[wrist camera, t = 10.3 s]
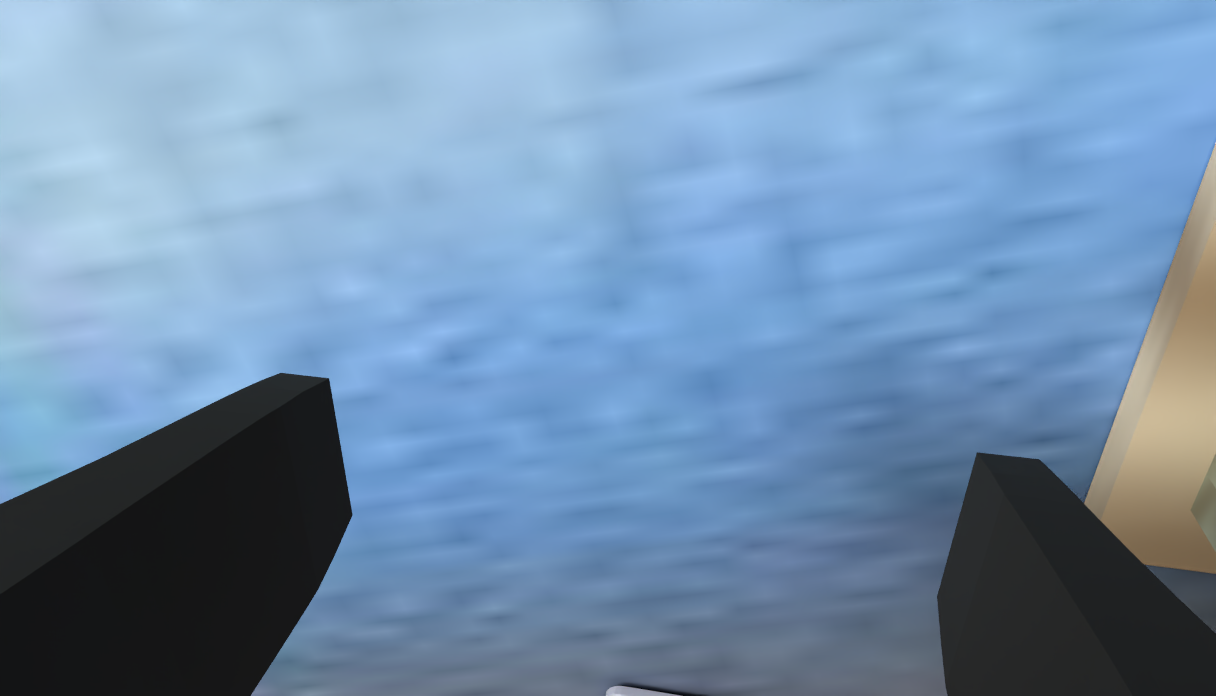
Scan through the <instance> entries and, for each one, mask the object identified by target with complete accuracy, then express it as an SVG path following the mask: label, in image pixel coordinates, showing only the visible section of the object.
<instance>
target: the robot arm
mask: <svg viewBox="0 0 1216 696" xmlns="http://www.w3.org/2000/svg"><path fill="white" fill-rule="evenodd" d="M351 517H352V510H351V504H350V498H349V492H348V486H347V481H346V475H345V469H344V463H343V457H342V451H341V446H340V440H339V434H338V428H337V422H336V416H335V411H334V405H333V399H332V393H331V387H330V381H329V378H321V377H312V376H303V375H294V374H286V373H279V374H277V375H274V376H272V377H269V378H266V379H264V380H261V381H259V382H257V383H254V384H252V385H250V386H248V387H246V388H243V389H241V390H239V391H237V392H235V393H233V394H231V395H229V396H226V397H224V398H222V399H220V400H218V401H216V402H214V403H212V404H210V405H208V406H206V407H204V408H202V409H200V410H198V411H196V412H194V413H192V414H190V415H188V416H186V417H184V418H182V419H180V420H178V421H176V422H174V423H172V424H170V425H168V426H166V427H164V428H161V429H159V430H157V431H155V432H153V433H151V434H149V435H147V436H145V437H143V438H141V439H139V440H137V441H135V442H133V443H131V444H129V445H127V446H125V447H123V448H121V449H119V450H117V451H115V452H113V453H111V454H109V455H107V456H105V457H103V458H100V459H98V460H96V461H94V462H92V463H90V464H87V465H85V466H83V467H81V468H79V469H76V470H74V471H72V472H70V473H68V474H66V475H63V476H61V477H59V478H57V479H55V480H52V481H50V482H48V483H46V484H44V485H41V486H39V487H37V488H35V489H33V490H30V491H28V492H26V493H24V494H22V495H20V496H17V497H15V498H13V499H11V500H9V501H6V502H4V503H2V504H0V696H251V694H252V693H253V691H254V689H255V688H256V686H257V685H258V683H259V682H260V680H261V679H262V677H263V676H264V674H265V672H266V671H267V669H268V668H269V666H270V665H271V663H272V662H273V660H274V659H275V657H276V655H277V654H278V652H279V651H280V649H281V648H282V646H283V645H284V643H285V641H286V640H287V638H288V637H289V635H290V633H291V632H292V630H293V629H294V627H295V626H296V624H297V622H298V621H299V619H300V618H301V616H302V615H303V613H304V611H305V610H306V608H307V607H308V605H309V603H310V602H311V600H312V598H313V597H314V595H315V594H316V592H317V590H318V589H319V586H320V584H321V582H322V580H323V578H324V576H325V574H326V572H327V570H328V568H329V566H330V564H331V562H332V560H333V558H334V556H335V553H336V551H337V549H338V547H339V544H340V542H341V540H342V537H343V535H344V533H345V531H346V528H347V526H348V524H349V522H350V519H351ZM937 599H938V611H939V623H940V635H941V647H942V656H943V665H944V675H945V684H946V690H947V694H948V696H1216V634H1215V633H1214V632H1213V631H1212V630H1211V629H1210V628H1209V627H1208V626H1207V625H1206V624H1205V623H1204V622H1203V621H1202V620H1200V619H1199V618H1198V617H1197V616H1196V615H1195V614H1194V613H1193V612H1192V611H1191V610H1190V609H1189V608H1188V607H1187V606H1186V605H1185V604H1184V603H1183V602H1182V601H1181V600H1179V599H1178V598H1177V597H1176V596H1175V595H1174V594H1173V593H1172V592H1171V591H1170V590H1169V589H1168V588H1167V587H1166V586H1165V585H1164V584H1163V583H1162V582H1161V581H1160V580H1159V579H1158V578H1157V577H1156V576H1155V575H1154V574H1153V573H1152V572H1151V571H1150V570H1149V569H1148V568H1147V567H1146V566H1145V565H1144V564H1143V563H1142V562H1141V561H1140V560H1139V559H1138V558H1137V557H1136V556H1135V555H1134V554H1133V553H1132V552H1131V551H1130V550H1129V549H1128V548H1127V547H1126V546H1125V545H1124V544H1123V543H1122V542H1121V541H1120V540H1119V539H1118V538H1117V537H1116V536H1115V535H1114V534H1113V533H1112V532H1111V531H1110V530H1109V529H1108V528H1107V527H1106V526H1105V525H1104V524H1103V523H1102V522H1101V521H1100V520H1099V519H1098V518H1097V517H1096V516H1095V514H1094V513H1093V512H1092V511H1091V510H1090V509H1089V508H1088V507H1087V506H1086V505H1085V504H1084V503H1083V502H1082V501H1081V500H1080V499H1079V498H1078V497H1077V496H1076V495H1075V494H1074V493H1073V492H1072V491H1071V490H1070V489H1069V488H1068V487H1067V486H1066V485H1065V484H1064V483H1063V482H1062V481H1061V480H1060V479H1059V478H1058V477H1057V476H1056V475H1055V474H1054V473H1053V472H1052V471H1051V470H1050V469H1049V468H1048V467H1047V466H1046V465H1045V464H1044V463H1043V462H1041V461H1040V460H1039V459H1030V458H1021V457H1012V456H1004V455H995V454H986V453H977V454H976V458H975V462H974V465H973V469H972V473H971V476H970V480H969V483H968V487H967V491H966V494H965V498H964V501H963V505H962V509H961V512H960V516H959V520H958V523H957V527H956V530H955V534H954V538H953V541H952V545H951V548H950V552H949V556H948V559H947V563H946V567H945V570H944V574H943V577H942V581H941V585H940V588H939V592H938V595H937ZM606 696H681V695H675V694H669V693H663V692H657V691H651V690H644V689H638V688H632V687H626V686H614V687H611V688H609V689H608V690H607V692H606Z"/></svg>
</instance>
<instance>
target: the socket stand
mask: <svg viewBox="0 0 1216 696" xmlns="http://www.w3.org/2000/svg"><path fill="white" fill-rule="evenodd" d="M1084 504H1085V505H1086V506H1087V507H1088V508H1089V509H1090V510H1091V511H1092V512H1093V513H1094V514H1095V516H1096V517H1097V518H1098V519H1099V520H1100V521H1101V522H1102V523H1103V524H1104V525H1105V526H1106V527H1107V528H1108V529H1109V530H1110V531H1111V532H1112V533H1113V534H1114V535H1115V536H1116V537H1117V538H1118V539H1119V540H1120V541H1121V542H1122V543H1123V544H1124V545H1125V546H1126V547H1127V548H1128V549H1129V550H1130V551H1131V552H1132V553H1133V554H1134V555H1135V556H1136V557H1137V558H1138V559H1139V560H1140V561H1141V562H1142V563H1143V564H1145V565H1152V566H1160V567H1168V568H1176V569H1183V570H1191V571H1199V572H1207V573H1214V574H1216V144H1215V146H1214V149H1213V152H1212V155H1211V157H1210V160H1209V163H1208V165H1207V168H1206V171H1205V174H1204V176H1203V179H1202V182H1201V185H1200V187H1199V190H1198V193H1197V196H1196V198H1195V201H1194V204H1193V207H1192V209H1191V212H1190V215H1189V218H1188V220H1187V223H1186V226H1185V228H1184V231H1183V234H1182V237H1181V239H1180V242H1179V245H1178V248H1177V250H1176V253H1175V256H1174V259H1173V261H1172V264H1171V267H1170V270H1169V272H1168V275H1167V278H1166V281H1165V283H1164V286H1163V289H1162V291H1161V294H1160V297H1159V300H1158V302H1157V305H1156V308H1155V311H1154V313H1153V316H1152V319H1151V322H1150V324H1149V327H1148V330H1147V333H1146V335H1145V338H1144V341H1143V344H1142V346H1141V349H1140V352H1139V354H1138V357H1137V360H1136V363H1135V365H1134V368H1133V371H1132V374H1131V376H1130V379H1129V382H1128V385H1127V387H1126V390H1125V393H1124V396H1123V398H1122V401H1121V404H1120V406H1119V409H1118V412H1117V415H1116V417H1115V420H1114V423H1113V426H1112V428H1111V431H1110V434H1109V437H1108V439H1107V442H1106V445H1105V448H1104V450H1103V453H1102V456H1101V459H1100V461H1099V464H1098V467H1097V469H1096V472H1095V475H1094V478H1093V480H1092V483H1091V486H1090V489H1089V491H1088V494H1087V497H1086V500H1085V502H1084Z"/></svg>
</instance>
